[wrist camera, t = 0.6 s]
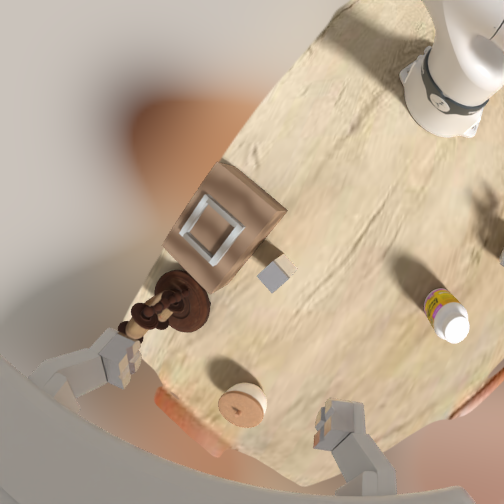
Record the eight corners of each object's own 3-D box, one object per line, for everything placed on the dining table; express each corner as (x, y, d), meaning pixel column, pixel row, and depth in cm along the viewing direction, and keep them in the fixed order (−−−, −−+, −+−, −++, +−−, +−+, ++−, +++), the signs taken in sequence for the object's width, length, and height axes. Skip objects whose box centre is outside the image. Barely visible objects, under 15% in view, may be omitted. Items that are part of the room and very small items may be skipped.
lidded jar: (229, 372, 64) (211, 392, 55) (272, 378, 60) (258, 402, 51) (233, 404, 65) (217, 426, 57) (273, 412, 62) (260, 436, 53)
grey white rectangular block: (284, 253, 55) (272, 261, 47) (297, 268, 54) (288, 278, 47) (269, 266, 56) (256, 276, 49) (283, 281, 56) (272, 293, 48)
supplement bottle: (428, 284, 46) (447, 307, 34) (456, 290, 44) (480, 312, 32) (418, 317, 47) (433, 346, 35) (446, 321, 45) (465, 351, 33)
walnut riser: (235, 166, 55) (213, 160, 47) (287, 210, 53) (274, 211, 44) (183, 240, 62) (157, 246, 53) (228, 283, 60) (206, 296, 51)
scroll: (182, 255, 63) (119, 274, 44) (225, 305, 61) (173, 343, 43) (151, 293, 68) (93, 319, 50) (188, 339, 66) (136, 377, 48)
